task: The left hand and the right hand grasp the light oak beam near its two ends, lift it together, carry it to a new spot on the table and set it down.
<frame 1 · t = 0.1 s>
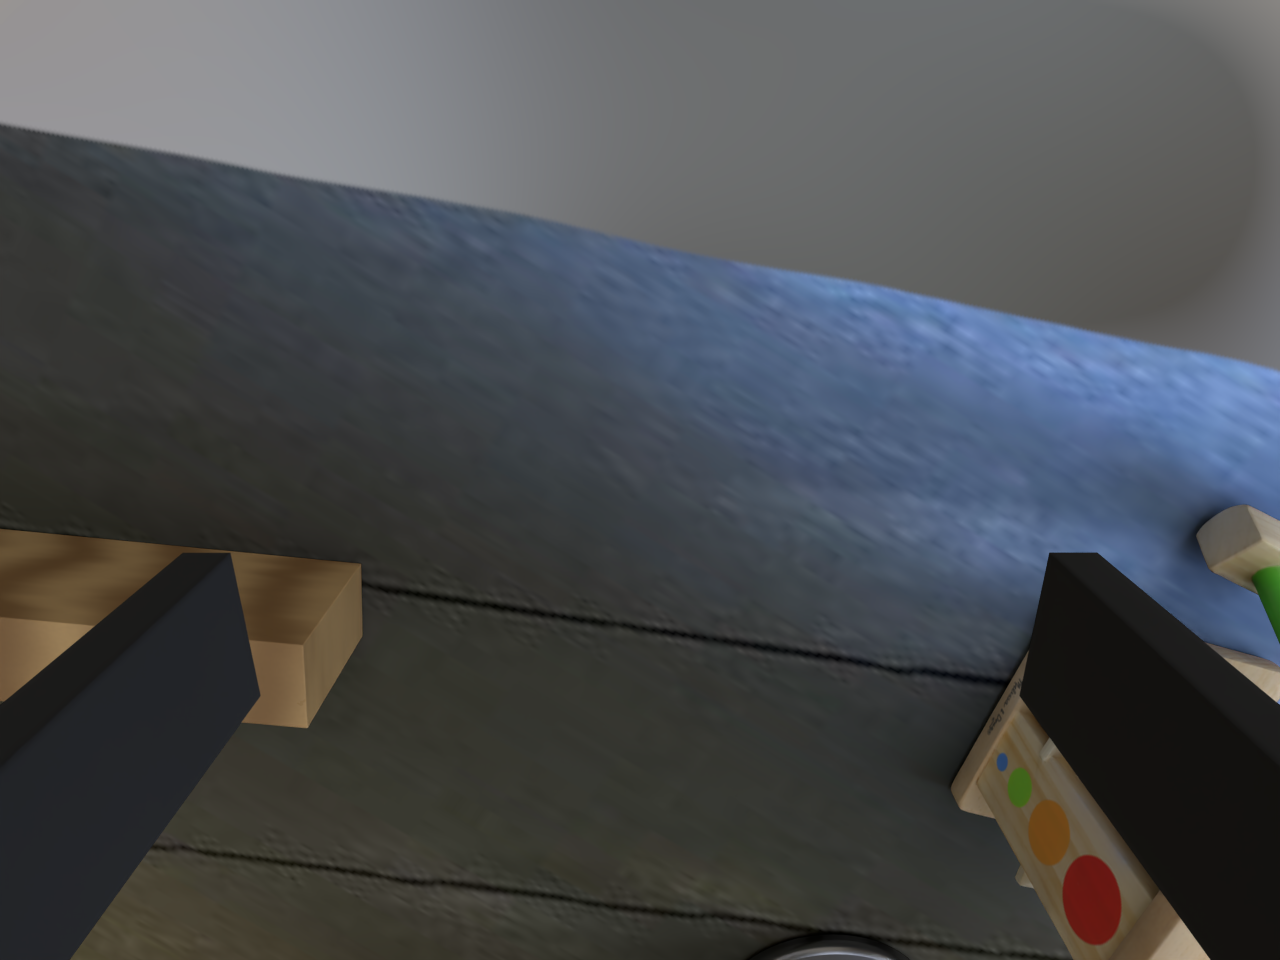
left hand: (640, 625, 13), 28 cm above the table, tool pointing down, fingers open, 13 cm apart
pounding bench toy: (1137, 671, 46), on the table
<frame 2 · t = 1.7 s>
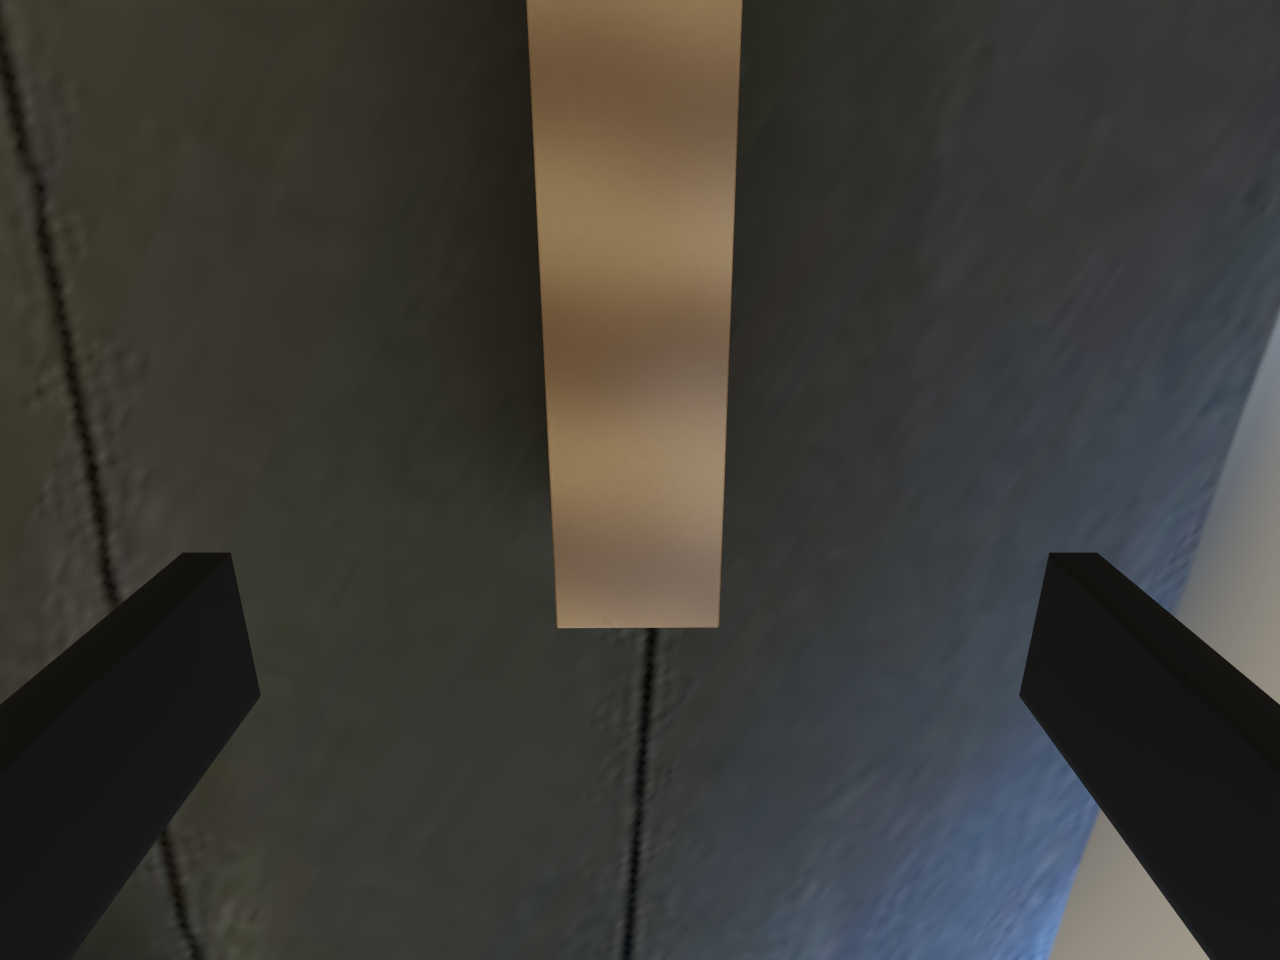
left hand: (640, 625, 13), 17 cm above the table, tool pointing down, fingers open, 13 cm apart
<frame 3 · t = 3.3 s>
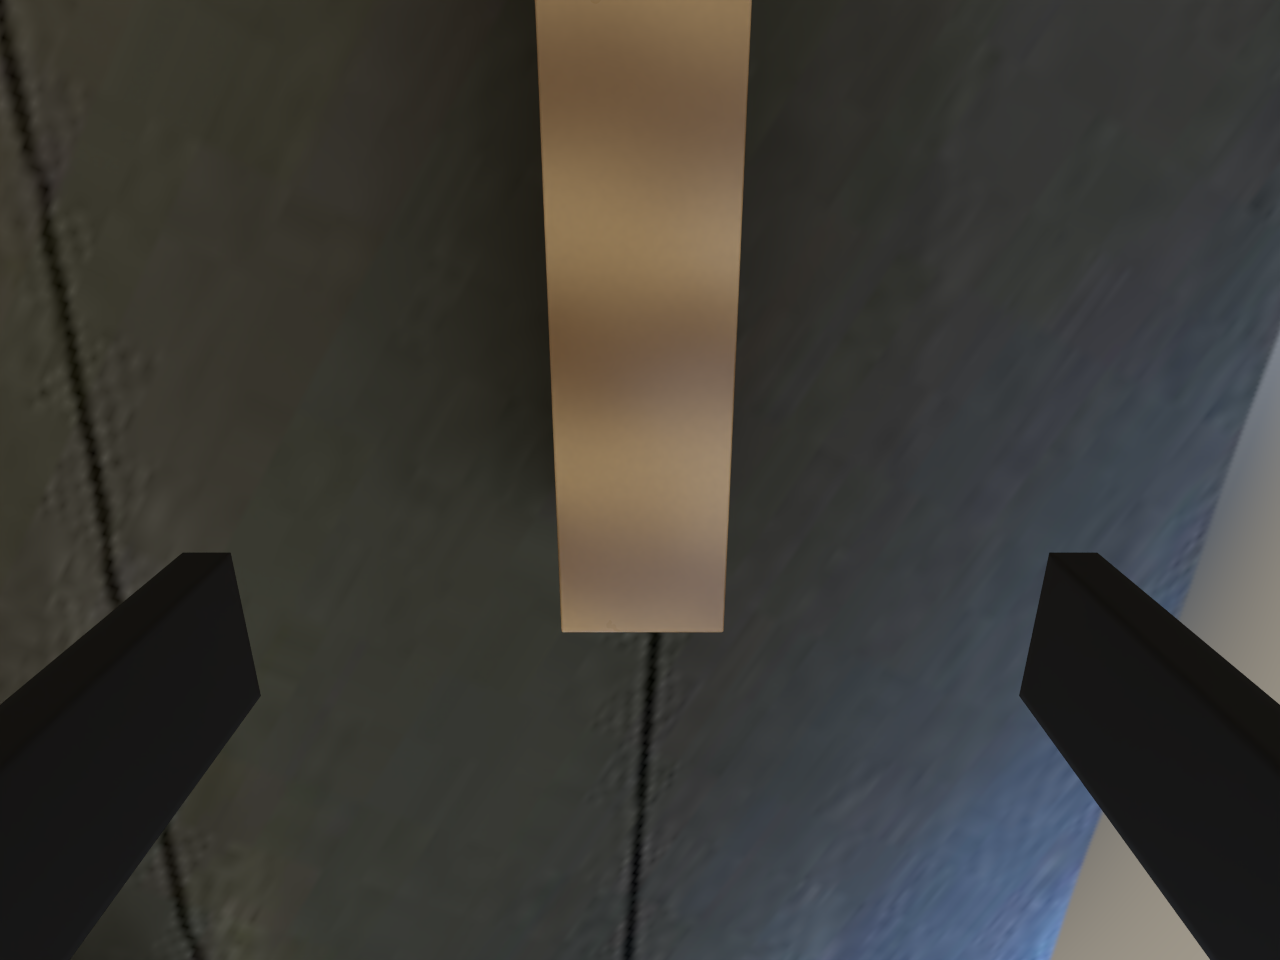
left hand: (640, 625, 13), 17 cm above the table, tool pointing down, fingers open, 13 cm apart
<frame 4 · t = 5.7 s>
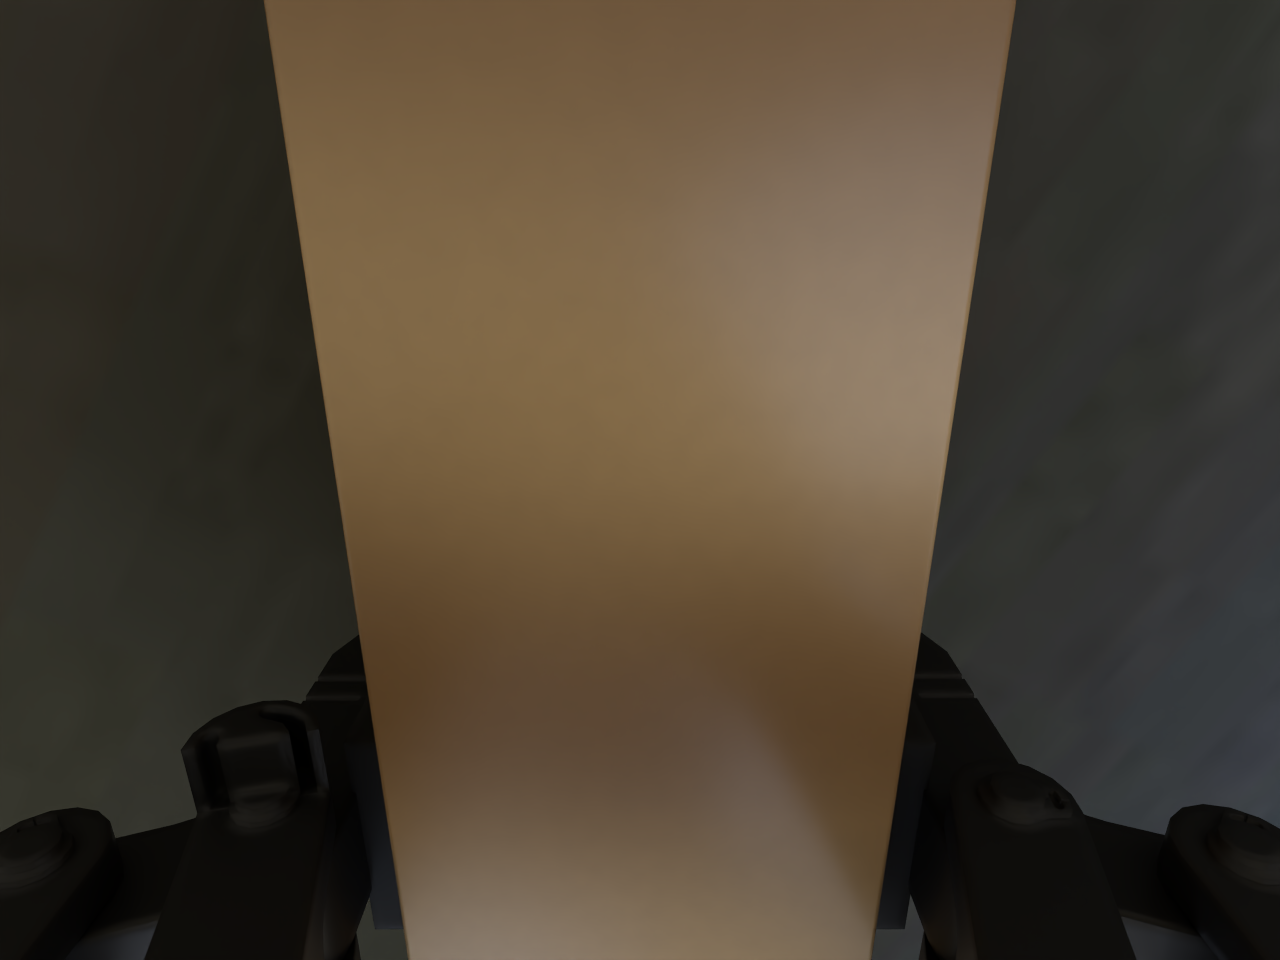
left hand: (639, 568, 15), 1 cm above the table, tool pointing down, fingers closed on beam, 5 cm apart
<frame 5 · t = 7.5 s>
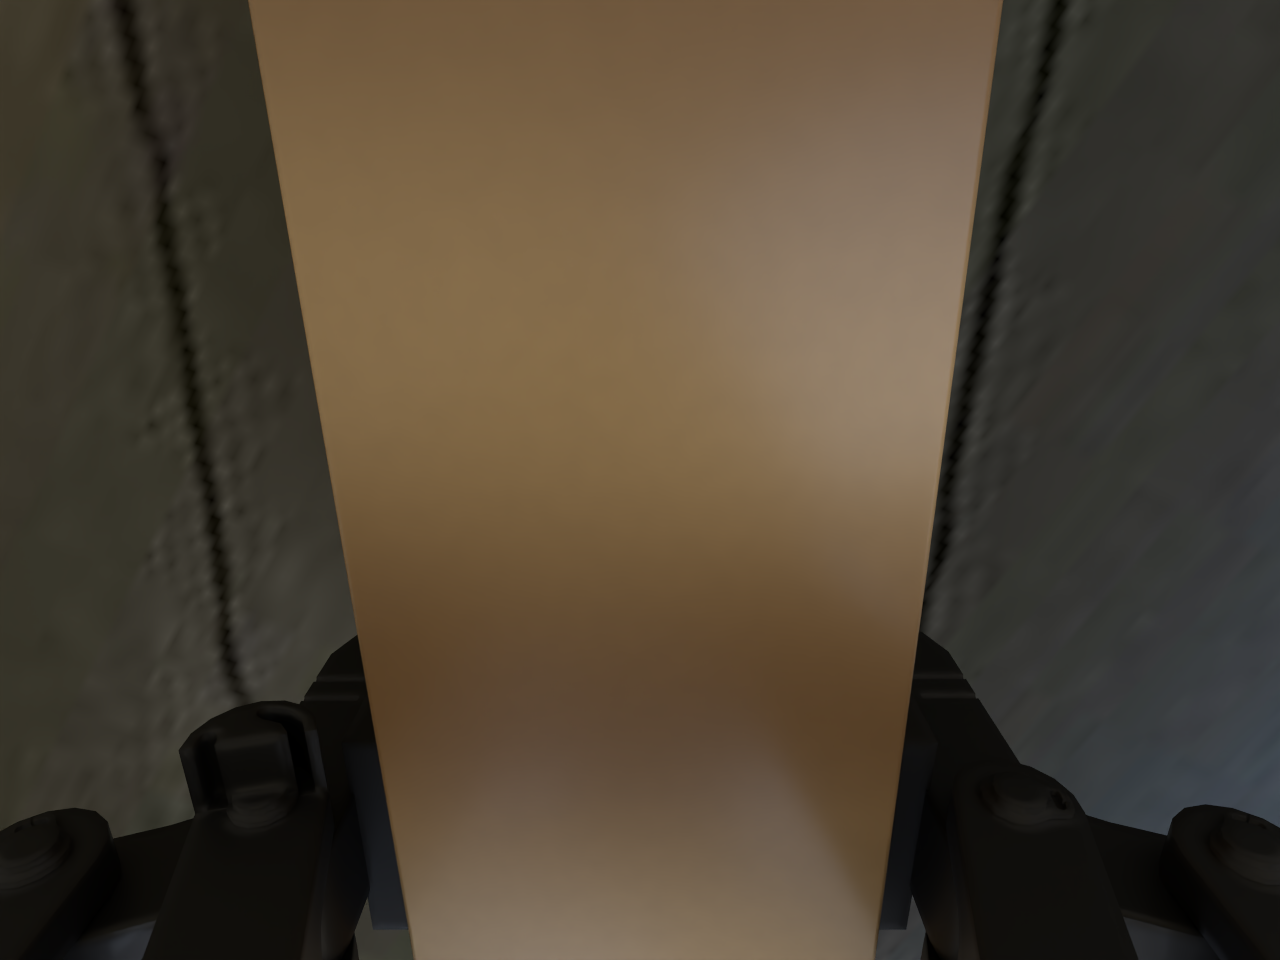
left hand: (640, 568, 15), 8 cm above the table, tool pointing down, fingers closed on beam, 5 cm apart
when the left hand's fingers open (2 cm above the table, at t = 9.5 s): beam drops 1 cm, on the table.
when the right hand's fingers open (2 cm above the table, at t = 9.5 s): beam drops 1 cm, on the table.
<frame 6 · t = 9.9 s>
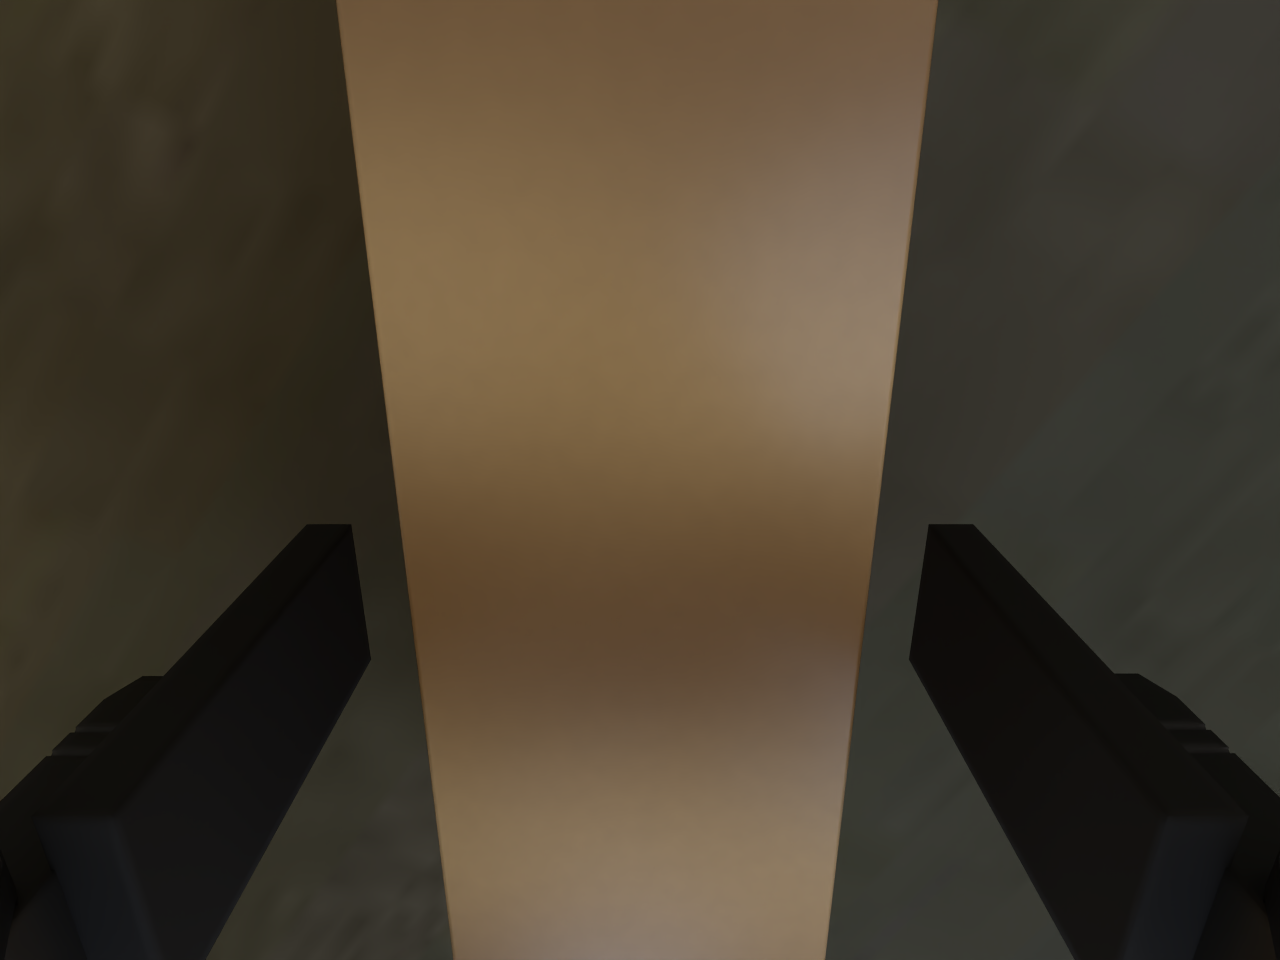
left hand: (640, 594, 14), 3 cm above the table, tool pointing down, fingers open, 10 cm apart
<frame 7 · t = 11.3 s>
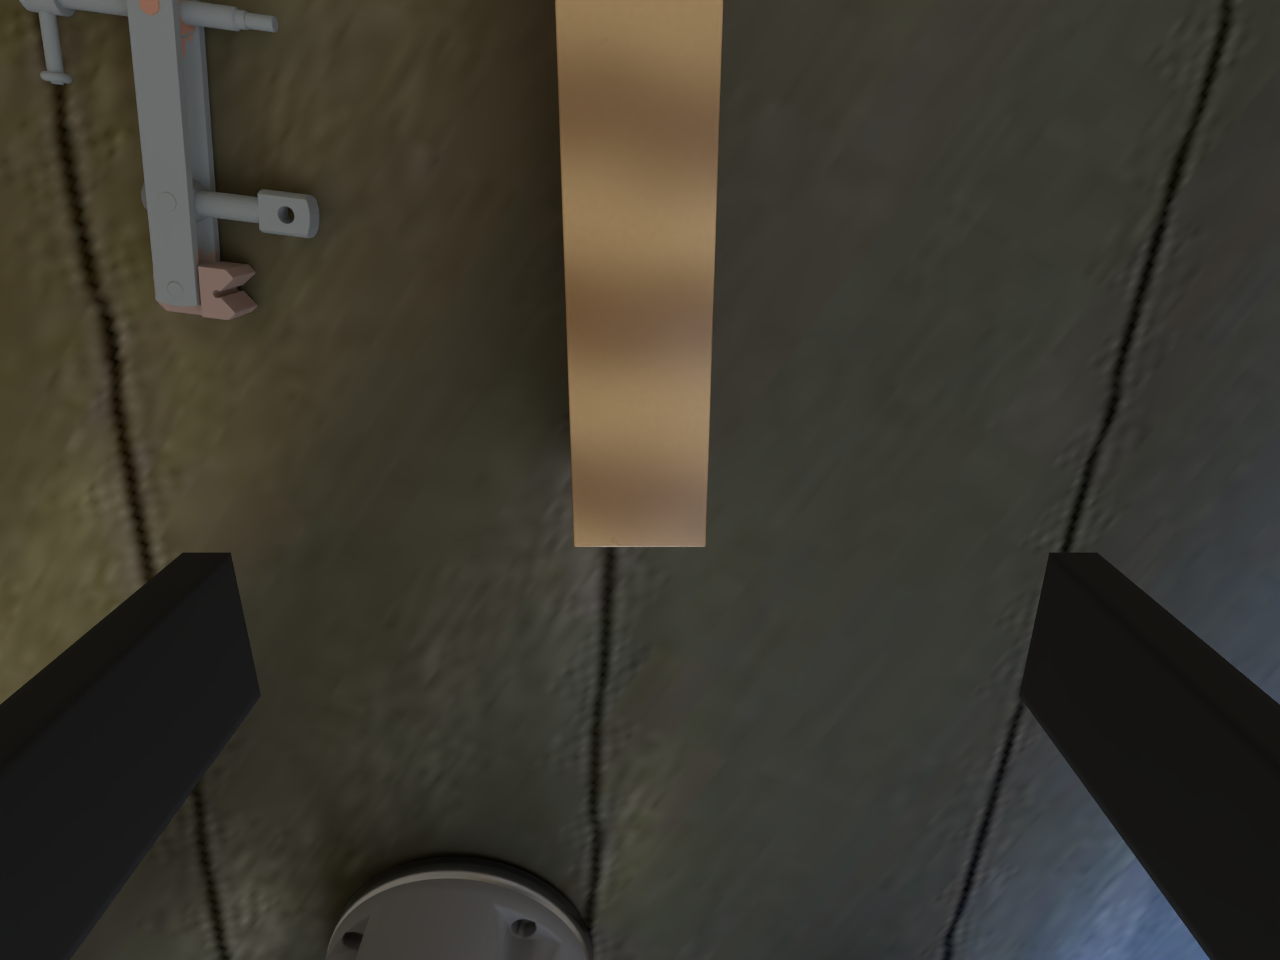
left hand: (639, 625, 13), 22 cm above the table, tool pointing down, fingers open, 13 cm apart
clamp: (194, 109, 31), on the table
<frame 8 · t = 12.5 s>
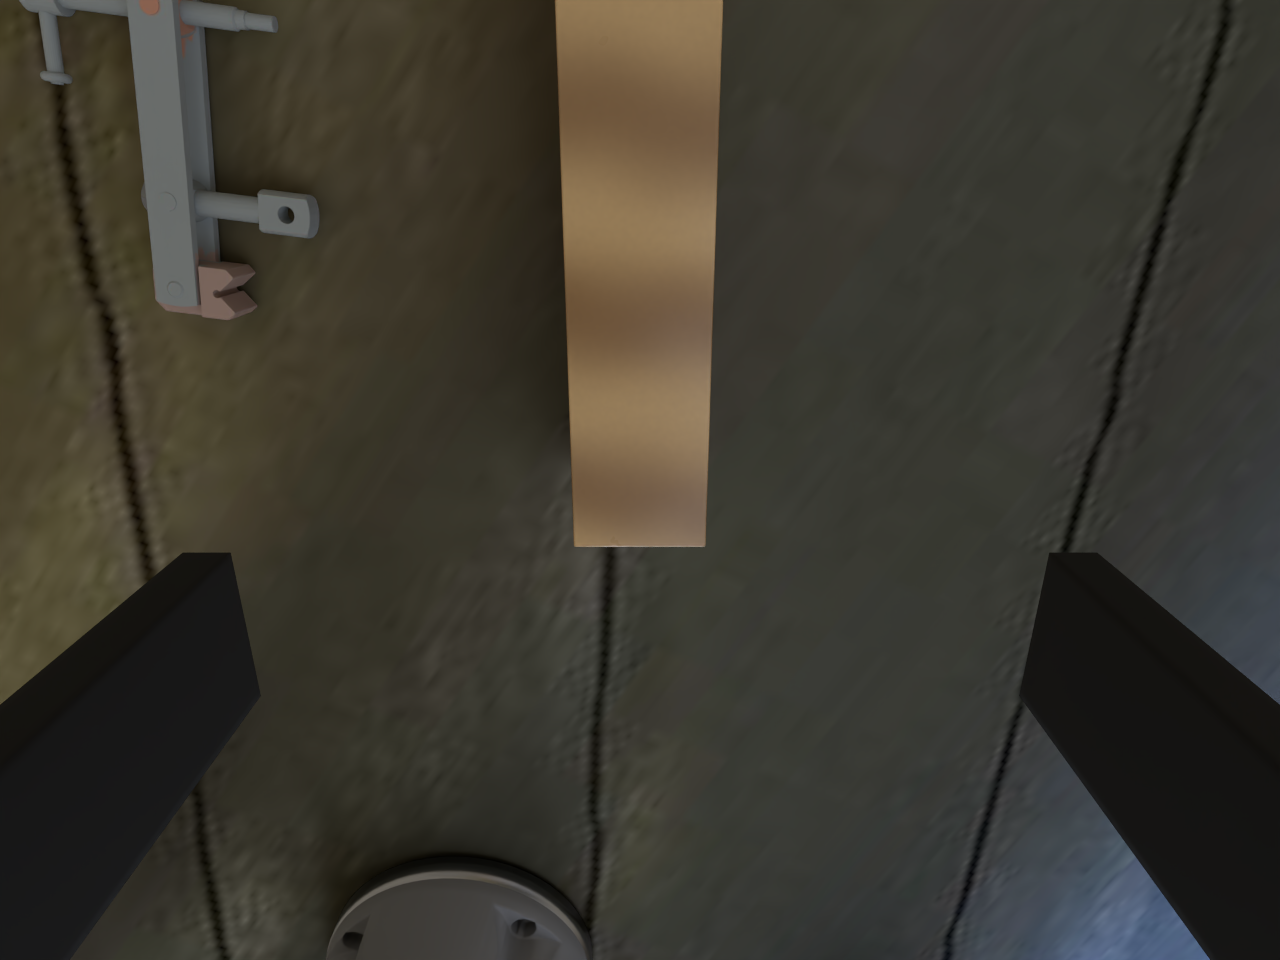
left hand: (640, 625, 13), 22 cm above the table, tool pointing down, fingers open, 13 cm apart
clamp: (194, 109, 31), on the table
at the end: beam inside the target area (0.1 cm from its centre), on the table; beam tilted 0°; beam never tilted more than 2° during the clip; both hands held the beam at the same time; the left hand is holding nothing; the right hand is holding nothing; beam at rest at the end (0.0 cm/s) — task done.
